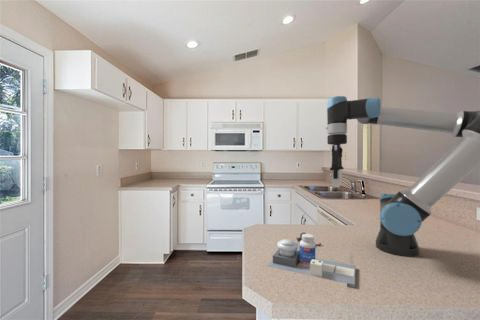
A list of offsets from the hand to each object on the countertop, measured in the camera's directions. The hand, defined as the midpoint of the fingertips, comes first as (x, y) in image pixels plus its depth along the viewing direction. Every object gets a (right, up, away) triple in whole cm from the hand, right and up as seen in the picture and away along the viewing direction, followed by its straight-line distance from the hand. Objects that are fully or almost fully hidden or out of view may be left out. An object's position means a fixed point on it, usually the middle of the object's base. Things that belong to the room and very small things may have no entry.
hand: (337, 185), depth 97 cm
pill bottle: (-17, -26, -16) cm, 35 cm away
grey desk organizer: (-16, -27, -17) cm, 35 cm away
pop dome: (-23, -24, -13) cm, 36 cm away
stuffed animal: (-13, -27, +5) cm, 31 cm away
